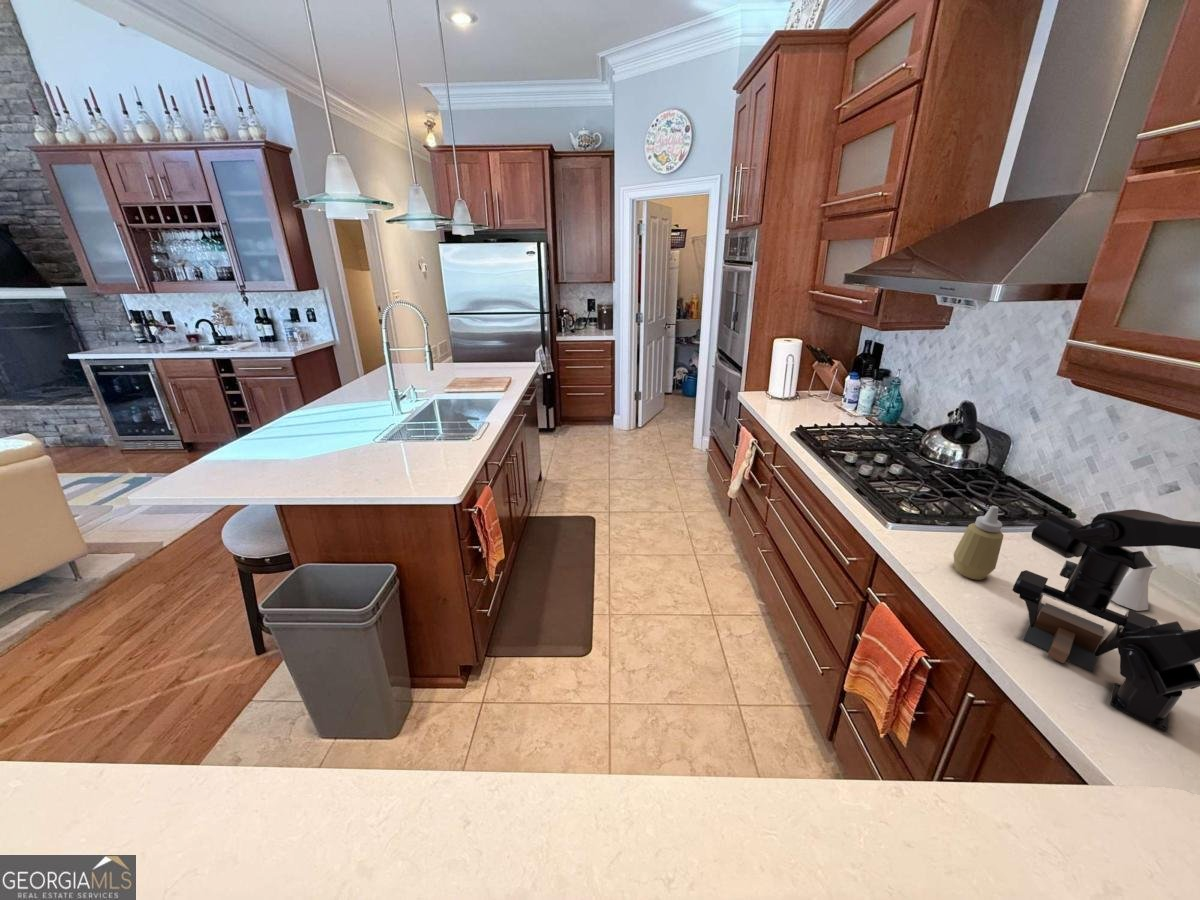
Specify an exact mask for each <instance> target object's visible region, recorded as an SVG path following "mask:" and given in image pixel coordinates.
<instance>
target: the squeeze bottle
mask: <svg viewBox="0 0 1200 900" xmlns="http://www.w3.org/2000/svg"><path fill="white" fill-rule="evenodd" d="M998 518H999V507H998V506H997V505H991V506H990V508H989V509H988V510H987V512H986V513H985V514H984V515H979V516H977V517H976V519H975V521H974V522H972V523H970V524H968V526H967V527H966V530H965V531H964V533H963V535H962V537H961V539H960V541H959V542H958V544H957V546H956V548H955V550H954V552H953V565H954V569H955V571H956V572H957V573H958V574H960V575H962V576H964V577H965V578H968V579H972V580H975V581H976V580H977V581H978V580H980V581H981V580H984V579H985V578H986V577H988V576H989V575H990V574H991V573H992V572H993V571H994V570H996V567H997V565H998V559H999V556H1000V552H1001V548H1002V544H1003V540H1004V534H1003V533H1002V532H1003V531H1001V530H1002V527H1003V522H1001V521H1000V520H999V519H998Z"/></svg>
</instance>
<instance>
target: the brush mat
mask: <svg viewBox="0 0 1200 900" xmlns="http://www.w3.org/2000/svg"><path fill="white" fill-rule="evenodd" d="M1044 605H1045V603H1042V602H1041V605H1040V609H1039V613H1040V611H1041V609H1042V607H1044ZM1039 613H1038V615H1039ZM1103 631H1104V628H1103ZM1054 636H1055V635H1053V634H1051V633H1049V632H1046V631H1044V630H1042V629H1039V628H1037V627H1035V626H1033V628H1032V627H1030V624H1029V625H1028V627H1027V629H1026V632H1025V634H1024V637H1023V638H1022V641H1024V642H1026V643H1029V644H1030V645H1033V646H1035V647H1037V648H1039V649H1041V650H1044V651H1046V652H1047V653H1048V652H1049V649H1050V647H1051V644H1052V641H1053V639H1054ZM1100 644H1101V643H1100ZM1100 644H1099V645H1100ZM1099 645H1098V647H1099ZM1098 647H1097V649H1098ZM1097 649H1096V650H1097ZM1095 652H1096V651H1095ZM1095 652H1092V651H1089V650H1087V649H1085V648H1083V647H1080V646H1078V645H1076V644H1072V647H1071V650H1070V653H1069V656H1068V657H1067V659H1066V661H1067V662H1069V663H1071V664H1074V665H1075V666H1078V667H1080V668H1082V669H1085V670H1087V671H1089V672H1090V673H1094V670H1095V665H1096V662H1097V658H1098V657H1097V656H1095Z"/></svg>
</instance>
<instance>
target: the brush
mask: <svg viewBox="0 0 1200 900" xmlns="http://www.w3.org/2000/svg"><path fill="white" fill-rule="evenodd" d="M1034 626H1035V627H1037V628H1039V629H1042V630H1044V631H1046V632H1049V633H1051V634H1053V635H1055V636H1054V639H1053V641H1052V644H1051V647H1050V649H1049V652H1048V651H1047V655H1046V656H1047V657H1048V658H1050V659H1052V660H1055V661H1056V662H1059V663H1061V664H1065V663H1066V661H1067V660H1066V659H1067V657H1068V656H1069V653H1070V650H1071V647H1072V644H1076V645H1078V646H1080V647H1083V648H1085V649H1087V650H1089V651H1092V652H1095V651H1096V649H1097V647H1098V645H1099V644H1101V643H1102V640H1103V639H1104V636H1105V631H1104V630H1103V629H1104V627H1105V626H1104V625H1102V624H1099V623H1097V622H1095V621H1092V620H1089V619H1087V618H1084V617H1082V616H1080V615H1077V614H1074V613H1072V612H1070V611H1067V610H1065V609H1062V608H1060V607H1058V606H1055V605H1052V604H1050V603H1048V602H1045V603H1044V607H1042V609H1041V611H1040V613H1039V615H1038V617H1037V620H1036V622H1035V624H1034Z"/></svg>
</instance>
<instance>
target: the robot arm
mask: <svg viewBox="0 0 1200 900" xmlns="http://www.w3.org/2000/svg"><path fill="white" fill-rule="evenodd" d="M1031 539H1032V541H1034V542H1036V543H1037V544H1039V545H1041V546H1043V547H1045V548H1046V549H1048V550H1050V551H1052V552H1054V553H1056V554H1057V555H1059V556H1061V557H1063V558H1065V559H1071V558H1080V559H1079V560H1078V563H1076V562H1073V561H1070V560H1065V562H1064V564H1063V566H1062V568H1061V570H1060V572H1059V576H1060V577H1062V578H1065V579H1067V582H1066V583H1065V585H1064V590H1063V591H1062V590H1060V589H1059V588H1055V587H1052V586H1050V585H1048V584H1047V582H1048V580H1049V578H1048V577H1045V576H1043V575H1040V574H1038V573H1035V572H1033V571H1030V570H1027V569H1026V570H1025V569H1024V570H1022V571H1021V572H1020V573H1019V574H1018V577H1017V578H1016V581H1015V583H1014V585H1013V587H1012V589H1011V591H1012V592H1014V593H1015V594H1017V595H1019V596H1018V598H1019V599H1021V600H1023V601H1024V602H1025V605H1026V608H1027V612H1028V619H1029V625H1030V627H1032V628H1033V626H1034V624H1035V622H1036V620H1037V617H1038V613H1039V609H1040V605H1041V603H1042V602H1043V597H1044V596H1045V597H1048V598H1050V599H1053V600H1056V601H1057V602H1060V603H1062V604H1065V605H1068V606H1070V607H1072V608H1075V609H1077V610H1080V611H1083V612H1084V613H1086V614H1087V613H1088V614H1090V615H1093V616H1095V617H1098V618H1100V619H1103V620H1105V621H1107V622H1110V623H1113V624H1114V625H1115V626H1114V627H1113V628H1112V630H1111V631H1110V632H1109V634H1107V636H1106V637H1105V638H1104V639H1103V641H1101V642H1100V645H1099V647H1098V649H1097V650H1096V652H1095V656H1097V658H1098V657H1100V656H1102V655H1104V654H1107V653H1109V652H1111V651H1113V650H1115V649H1117V652H1118V655H1119V674H1120V675H1121V676H1122V677H1124V680H1123V682H1122V683H1121V684H1120V683H1117V682H1115V683H1114V684H1112V685H1113V686H1112V691H1111V696H1110V700H1109V705H1110V706H1111V707H1113V708H1115V709H1117V710H1119V711H1121V712H1123V713H1125V714H1127V715H1129V716H1132V718H1135V719H1136V720H1137V719H1138V720H1139V721H1142V722H1144V723H1145V724H1148V725H1150V726H1151V727H1154V728H1156V729H1157V730H1160V731H1162V732H1165V733H1166V732H1168V730H1169V721H1170V712H1171V711H1172V709H1174V707H1175V705H1176V704H1177V702H1178V701H1179V700H1180V698H1181V697H1182V695H1183V691H1187V690H1193V689H1197V688H1199V687H1200V671H1199V670H1198V668H1197V666H1196V664H1197V663H1200V628H1199V629H1183V627H1182V626H1181V624H1180V622H1179V621H1177V620H1176V621H1172V622H1166V623H1161V624H1160V622H1159V621H1158V619H1155V618H1153V617H1150V616H1148V615H1145V614H1142V613H1140V612H1138V611H1136V610H1133V609H1128V610H1127V611H1126V612H1125V614H1122V613H1120V612H1117V611H1114V610H1112V609H1109V608H1108V606H1109V605H1110V603H1111V602H1112V600H1111V599H1112V598H1113V596H1114V594H1115V592H1116V591H1117V589H1118V587H1119V585H1120V584H1121V582H1122V580H1123V578H1124V576H1125V575H1126V574H1127V573H1128V572H1129V569H1135V570H1136V569H1142V568H1148V567H1151V566H1152V564H1151V563H1150V562H1151V561H1150V560H1149V559H1148V558H1147V556H1145V555H1146V554H1145V553H1144V551H1142V550H1139V551H1132V550H1130V549H1127V548H1140V547H1159V546H1160V547H1165V546H1167V547H1168V546H1169V547H1177V548H1186V549H1193V550H1200V521H1194V520H1193V521H1192V520H1182V519H1177V518H1173V517H1169V516H1167V515H1164V514H1161V513H1156V512H1151V511H1147V510H1146V511H1145V510H1141V509H1133V508H1132V509H1123V510H1115V511H1106V512H1101V513H1098V514H1096V516H1094V517H1093V518H1092V520H1091V522H1090V523H1088V524H1085V525H1083V524H1081V523H1079V522H1077V521H1075V520H1073V519H1071V518H1070V517H1068V516H1066V515H1065V514H1063V513H1061V512H1050V513H1049V514H1048V515H1047V518H1044V519H1043V520H1041V521H1039V523H1038V524H1037V525H1036V527H1034V528H1033V529H1032V531H1031Z"/></svg>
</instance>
